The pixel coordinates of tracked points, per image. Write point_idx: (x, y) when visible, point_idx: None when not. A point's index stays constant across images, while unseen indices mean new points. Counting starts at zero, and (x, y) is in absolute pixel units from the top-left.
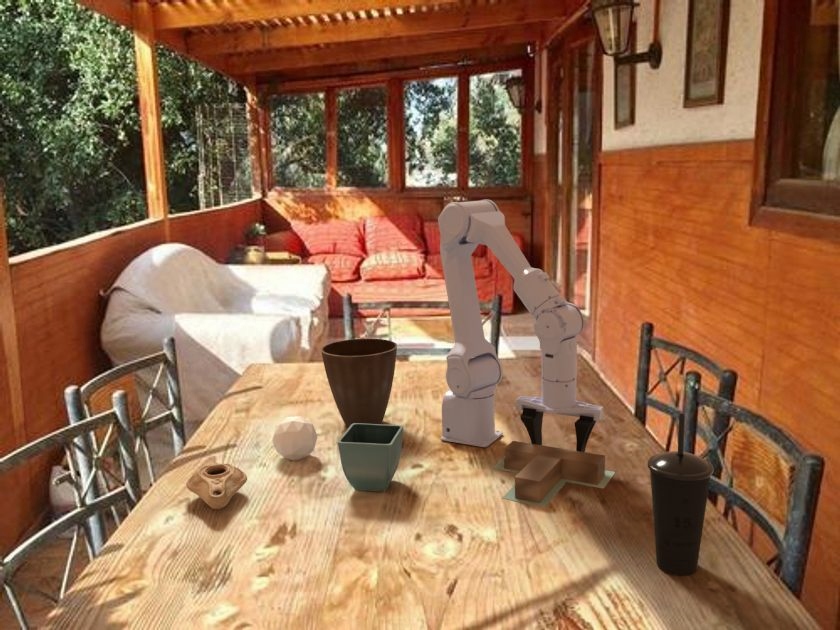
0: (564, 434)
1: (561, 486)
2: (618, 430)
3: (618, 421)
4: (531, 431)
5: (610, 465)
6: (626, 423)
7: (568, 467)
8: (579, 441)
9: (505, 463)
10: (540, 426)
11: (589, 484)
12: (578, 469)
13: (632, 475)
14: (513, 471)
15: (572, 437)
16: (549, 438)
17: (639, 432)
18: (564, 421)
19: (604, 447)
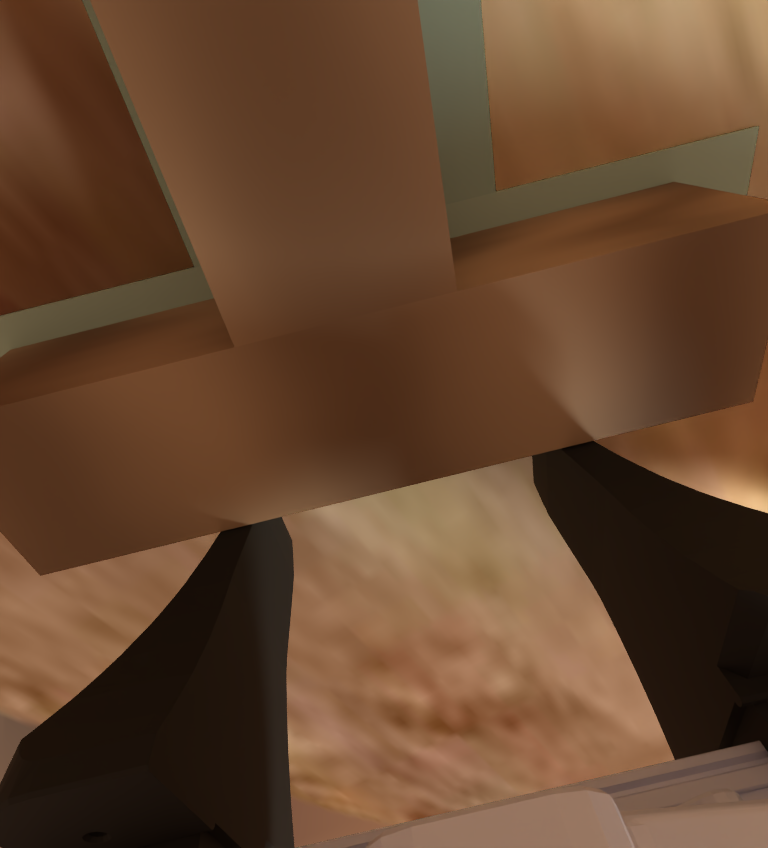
0: (538, 675)
1: (154, 160)
2: (382, 778)
3: (422, 809)
4: (656, 501)
5: (182, 580)
6: (392, 813)
7: (185, 333)
8: (202, 590)
9: (687, 188)
10: (618, 609)
11: (51, 323)
12: (105, 351)
13: (12, 559)
14: (592, 174)
15: (496, 674)
16: (578, 624)
17: (314, 798)
18: (586, 736)
19: (333, 679)
